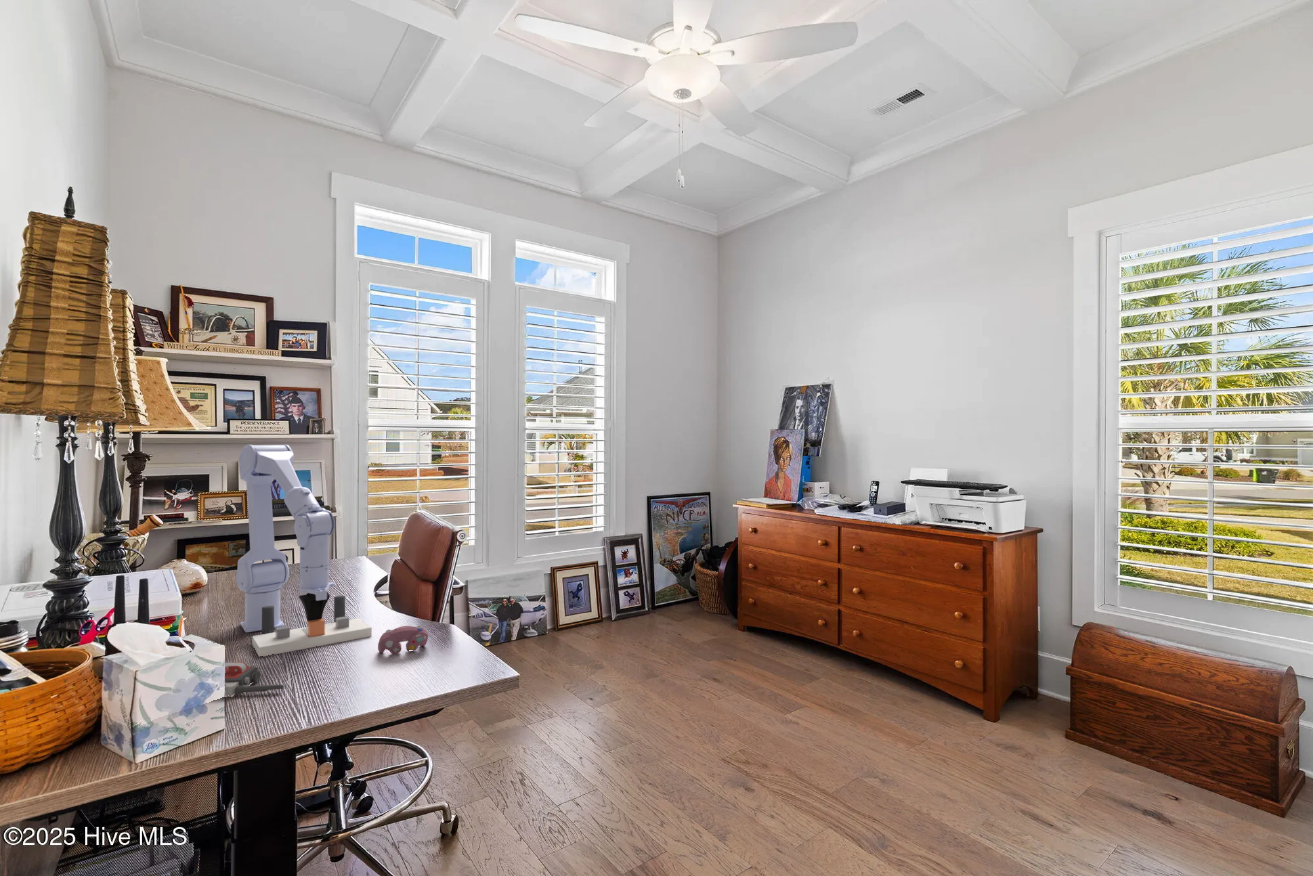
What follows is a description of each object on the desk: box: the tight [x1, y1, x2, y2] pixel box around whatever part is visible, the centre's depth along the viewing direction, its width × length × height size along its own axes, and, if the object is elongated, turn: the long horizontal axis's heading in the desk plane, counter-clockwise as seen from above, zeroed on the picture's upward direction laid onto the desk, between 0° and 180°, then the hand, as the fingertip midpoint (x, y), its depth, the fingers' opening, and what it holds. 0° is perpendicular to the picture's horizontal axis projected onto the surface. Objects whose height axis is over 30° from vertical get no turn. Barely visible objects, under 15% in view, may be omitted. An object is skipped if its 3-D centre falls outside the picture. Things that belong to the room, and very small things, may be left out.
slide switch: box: [307, 618, 326, 637], centre depth 139 cm, size 2×3×3 cm, turn 130°
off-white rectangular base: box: [251, 615, 373, 658], centre depth 141 cm, size 10×22×4 cm, turn 130°
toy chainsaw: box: [224, 661, 285, 696], centre depth 114 cm, size 9×4×20 cm
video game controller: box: [377, 625, 429, 655], centre depth 134 cm, size 10×5×7 cm, turn 118°
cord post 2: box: [333, 595, 346, 623], centre depth 153 cm, size 2×2×7 cm
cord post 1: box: [261, 606, 275, 635], centre depth 144 cm, size 2×2×7 cm
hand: (314, 626), depth 141 cm, fingers closed
